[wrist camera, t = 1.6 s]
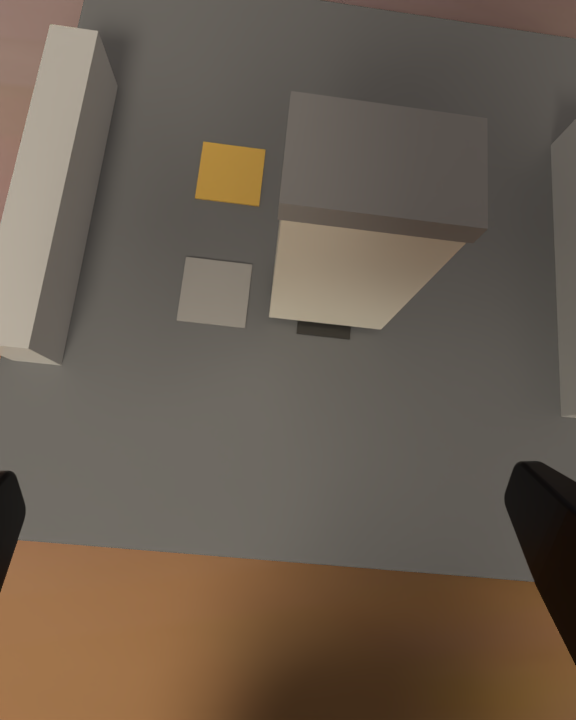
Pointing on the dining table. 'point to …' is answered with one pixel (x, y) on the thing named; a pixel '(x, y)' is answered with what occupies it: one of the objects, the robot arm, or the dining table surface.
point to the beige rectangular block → (372, 206)
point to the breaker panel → (254, 287)
